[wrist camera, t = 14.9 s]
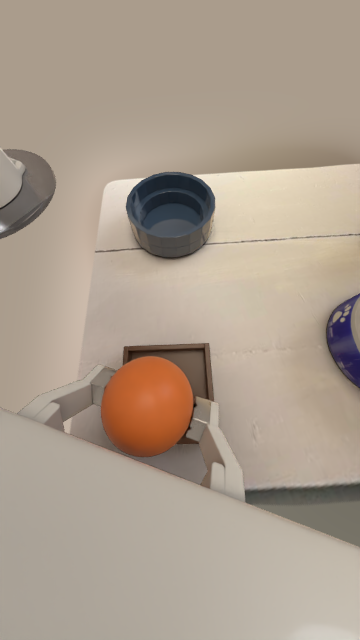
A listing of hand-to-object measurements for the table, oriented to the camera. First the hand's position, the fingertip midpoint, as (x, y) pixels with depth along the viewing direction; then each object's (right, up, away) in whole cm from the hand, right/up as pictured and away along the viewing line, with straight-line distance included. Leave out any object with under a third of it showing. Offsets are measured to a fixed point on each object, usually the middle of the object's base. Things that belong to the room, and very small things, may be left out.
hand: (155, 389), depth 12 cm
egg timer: (0, -2, +4) cm, 4 cm away
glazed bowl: (0, +22, +21) cm, 30 cm away
